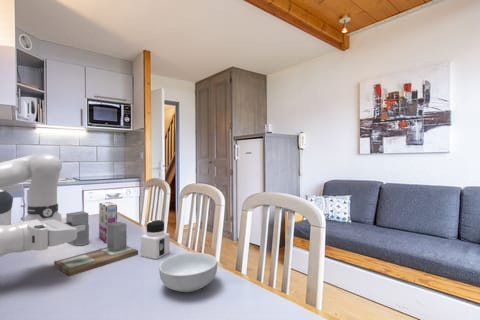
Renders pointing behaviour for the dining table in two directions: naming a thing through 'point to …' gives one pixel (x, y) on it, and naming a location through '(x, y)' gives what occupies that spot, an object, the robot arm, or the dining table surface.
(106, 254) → the wooden board
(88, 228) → the supplement bottle
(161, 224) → the container
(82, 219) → the loose billet
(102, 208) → the candy bar box
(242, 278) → the dining table surface
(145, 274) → the dining table surface
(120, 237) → the billet
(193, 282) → the cereal bowl
